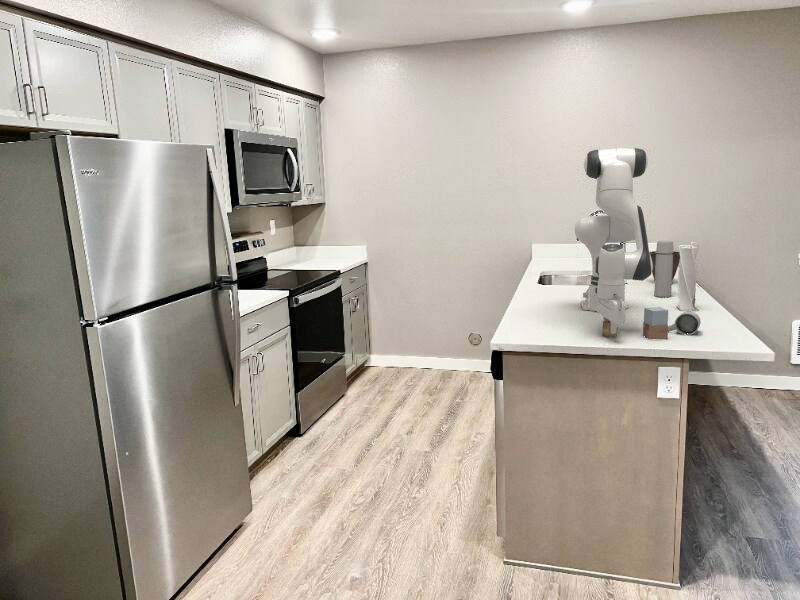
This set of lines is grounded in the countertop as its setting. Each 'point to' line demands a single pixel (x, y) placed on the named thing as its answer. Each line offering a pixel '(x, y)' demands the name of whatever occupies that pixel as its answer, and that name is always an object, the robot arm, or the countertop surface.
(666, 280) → the water bottle
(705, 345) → the countertop surface
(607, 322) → the oak cylinder
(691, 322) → the ceramic mug
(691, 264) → the skyscraper
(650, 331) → the walnut base block
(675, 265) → the plant pot
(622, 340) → the countertop surface
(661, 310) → the slate upper block
